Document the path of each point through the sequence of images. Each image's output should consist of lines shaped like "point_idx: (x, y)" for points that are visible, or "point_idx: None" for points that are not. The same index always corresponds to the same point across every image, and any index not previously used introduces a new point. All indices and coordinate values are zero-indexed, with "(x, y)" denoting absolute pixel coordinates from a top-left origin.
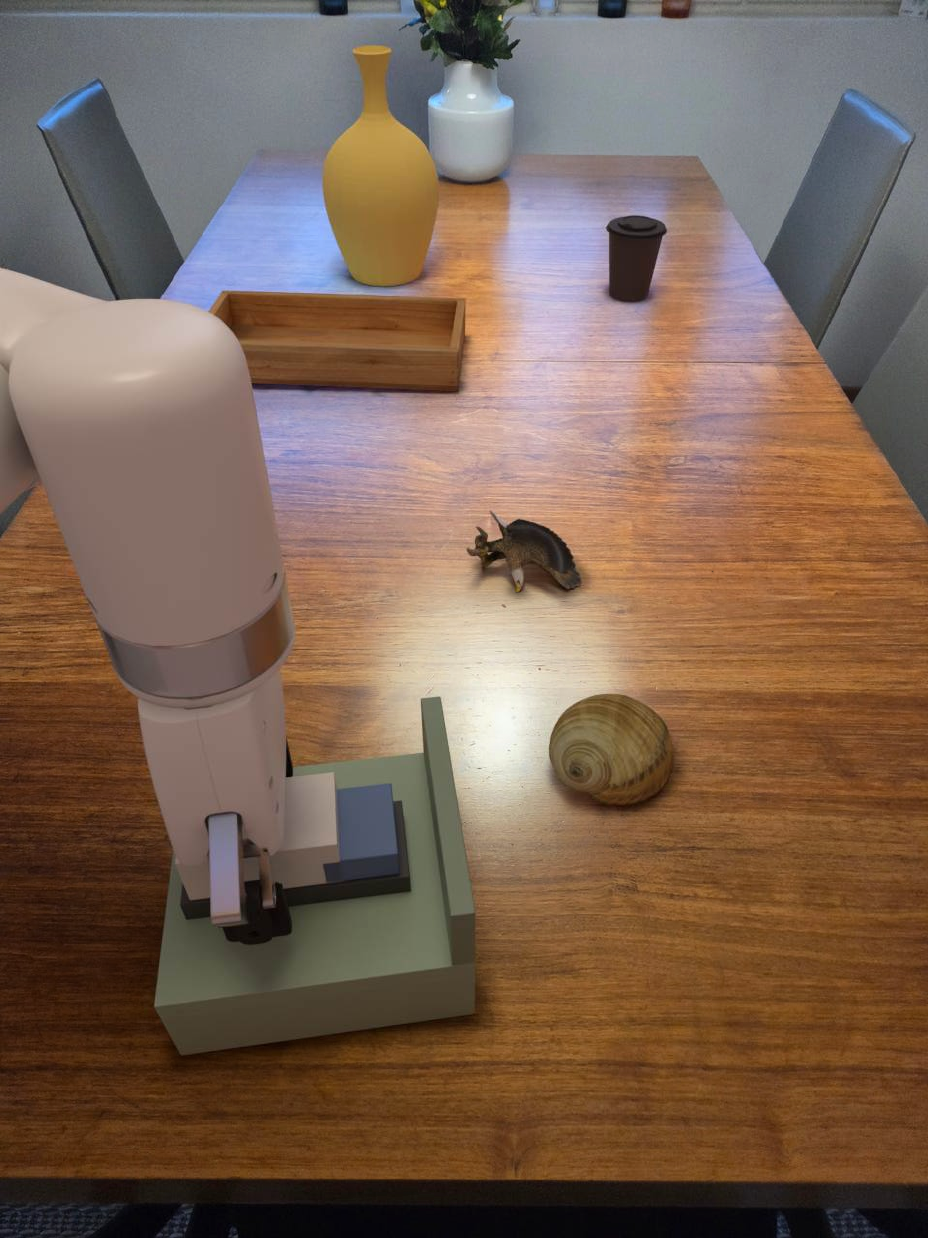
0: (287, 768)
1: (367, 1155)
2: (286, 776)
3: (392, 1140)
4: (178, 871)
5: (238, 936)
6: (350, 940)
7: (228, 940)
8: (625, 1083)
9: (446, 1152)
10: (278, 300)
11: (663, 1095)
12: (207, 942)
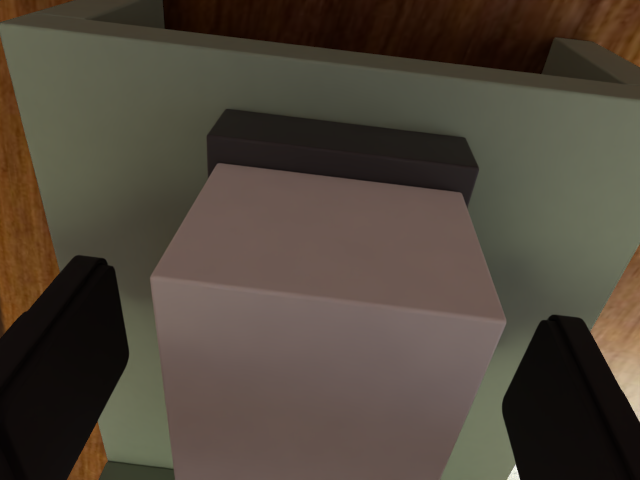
0: (511, 445)
1: (5, 231)
2: (507, 412)
3: (24, 258)
4: (168, 247)
5: (6, 333)
6: (151, 373)
7: (77, 255)
8: (94, 436)
9: (18, 302)
10: None
11: (85, 453)
12: (160, 155)
